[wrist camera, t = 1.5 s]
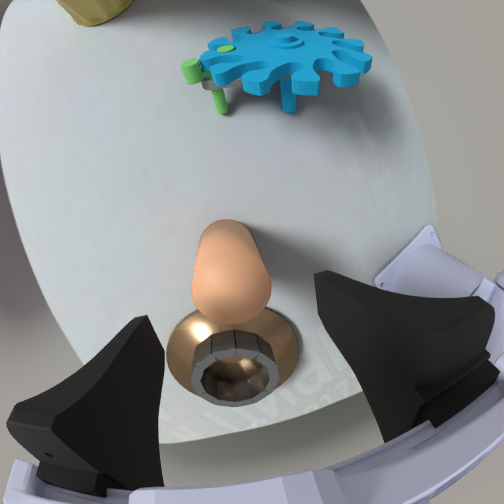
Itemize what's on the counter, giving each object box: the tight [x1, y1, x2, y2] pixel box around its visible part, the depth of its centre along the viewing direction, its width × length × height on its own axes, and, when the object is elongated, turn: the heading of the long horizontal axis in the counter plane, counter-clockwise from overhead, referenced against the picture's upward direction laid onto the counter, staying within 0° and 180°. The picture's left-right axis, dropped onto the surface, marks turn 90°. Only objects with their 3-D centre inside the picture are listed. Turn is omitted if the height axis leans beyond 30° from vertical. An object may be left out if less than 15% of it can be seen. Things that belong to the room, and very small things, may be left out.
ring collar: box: [166, 307, 299, 407], centre depth 22 cm, size 12×12×3 cm
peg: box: [191, 220, 271, 324], centre depth 17 cm, size 4×4×7 cm
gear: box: [181, 21, 372, 114], centre depth 14 cm, size 11×6×10 cm
